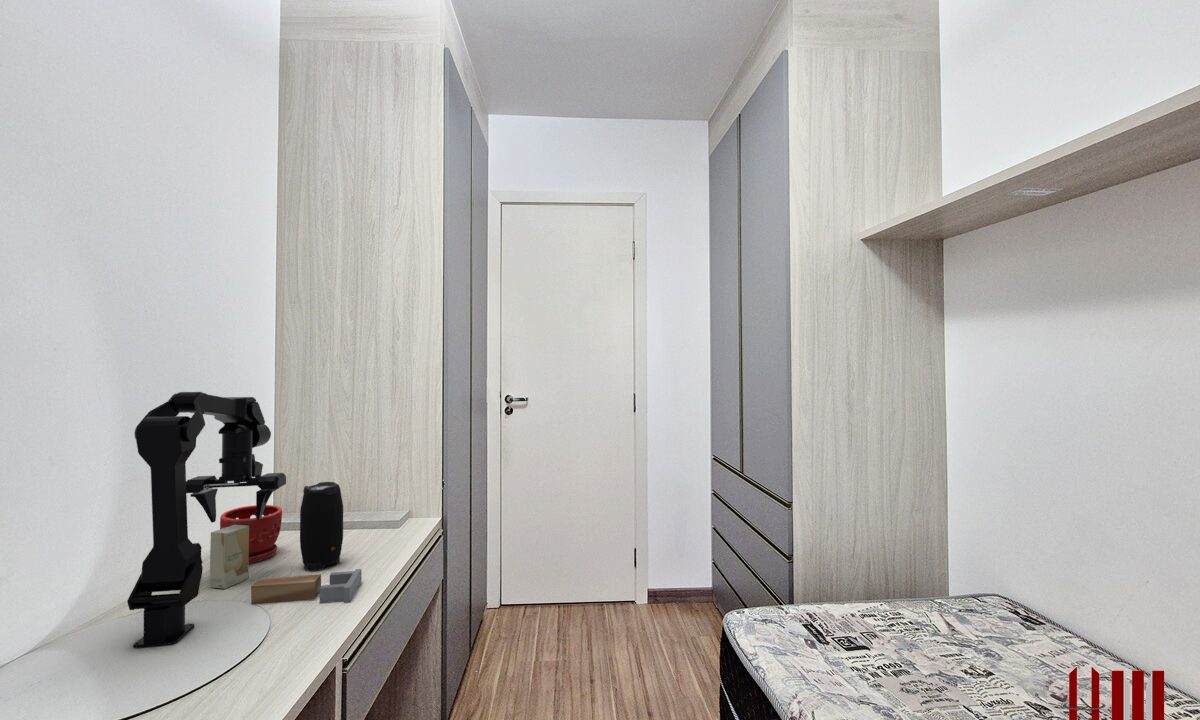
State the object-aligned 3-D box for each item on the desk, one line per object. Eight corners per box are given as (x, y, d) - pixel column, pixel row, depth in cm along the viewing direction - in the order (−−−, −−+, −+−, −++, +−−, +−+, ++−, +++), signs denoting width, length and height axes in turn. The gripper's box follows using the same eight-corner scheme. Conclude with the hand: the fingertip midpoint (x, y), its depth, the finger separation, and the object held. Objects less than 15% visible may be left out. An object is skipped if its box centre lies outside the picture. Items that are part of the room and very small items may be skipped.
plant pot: (208, 570, 125) (209, 519, 125) (235, 550, 138) (235, 505, 138) (269, 565, 128) (269, 516, 128) (289, 547, 140) (289, 502, 141)
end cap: (349, 602, 108) (349, 587, 108) (318, 604, 107) (318, 590, 107) (361, 582, 118) (361, 568, 118) (332, 584, 116) (332, 571, 116)
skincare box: (225, 589, 114) (225, 533, 114) (208, 588, 115) (208, 532, 115) (250, 578, 120) (250, 524, 120) (234, 576, 121) (234, 523, 121)
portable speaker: (346, 565, 127) (346, 485, 127) (302, 575, 122) (302, 491, 122) (338, 555, 134) (339, 479, 134) (297, 564, 128) (297, 484, 128)
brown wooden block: (314, 601, 109) (314, 581, 109) (251, 605, 107) (251, 586, 107) (321, 592, 113) (321, 574, 113) (260, 597, 111) (260, 578, 111)
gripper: (294, 445, 129) (294, 509, 129) (209, 448, 125) (208, 514, 125) (277, 452, 118) (276, 521, 118) (182, 455, 114) (181, 527, 114)
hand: (236, 520), depth 119 cm, fingers open, 9 cm apart
